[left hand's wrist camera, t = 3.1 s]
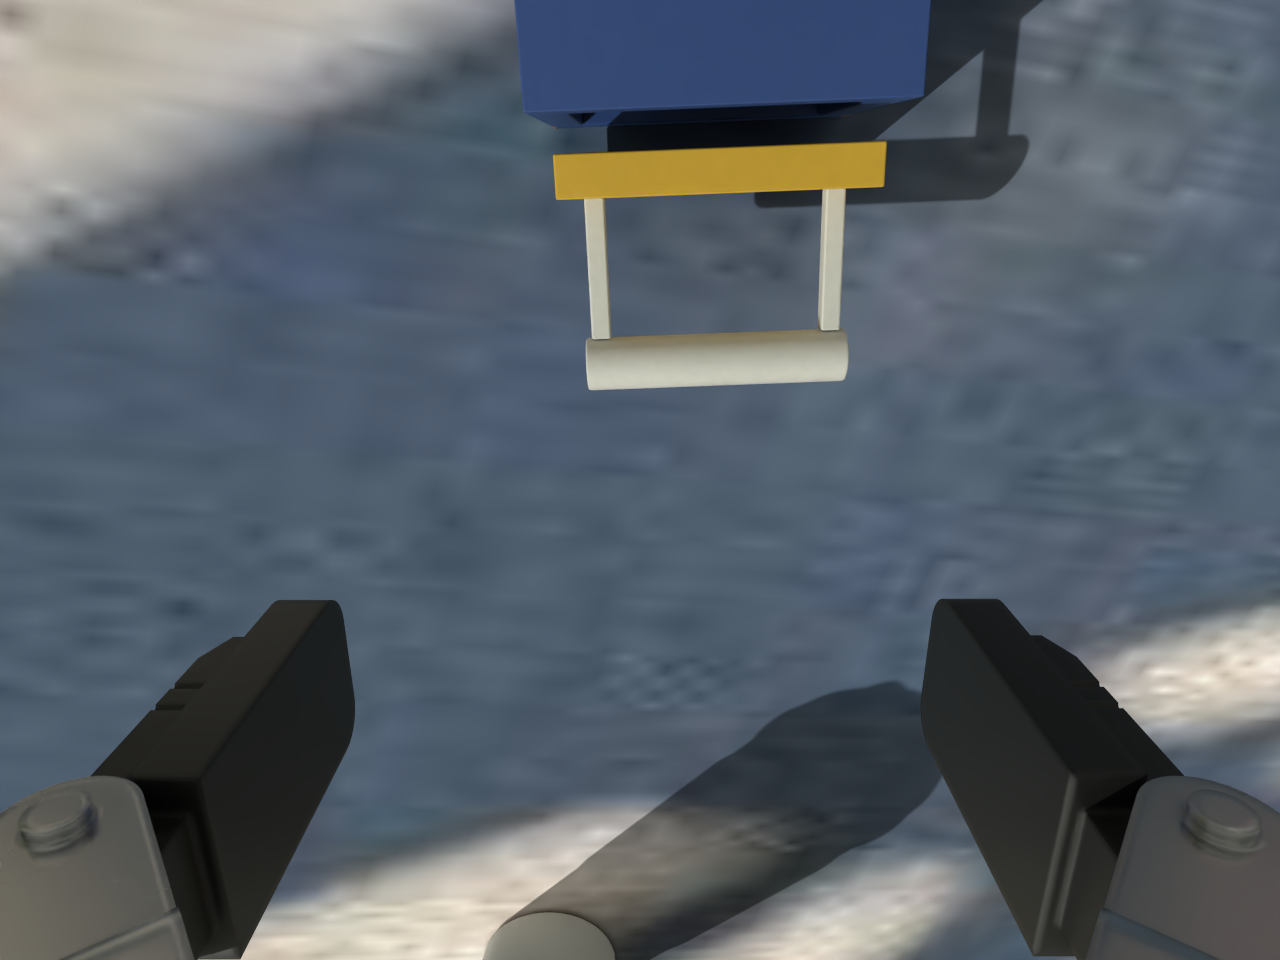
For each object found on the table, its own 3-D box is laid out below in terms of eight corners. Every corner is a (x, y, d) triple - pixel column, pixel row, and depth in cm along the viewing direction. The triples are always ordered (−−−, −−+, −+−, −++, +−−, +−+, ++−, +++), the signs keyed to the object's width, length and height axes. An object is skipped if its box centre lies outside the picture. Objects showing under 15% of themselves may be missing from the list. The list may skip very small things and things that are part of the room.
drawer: (823, 347, 32) (872, 393, 25) (583, 356, 32) (570, 405, 26) (852, -388, 24) (931, -592, 18) (538, -374, 25) (502, -570, 18)
